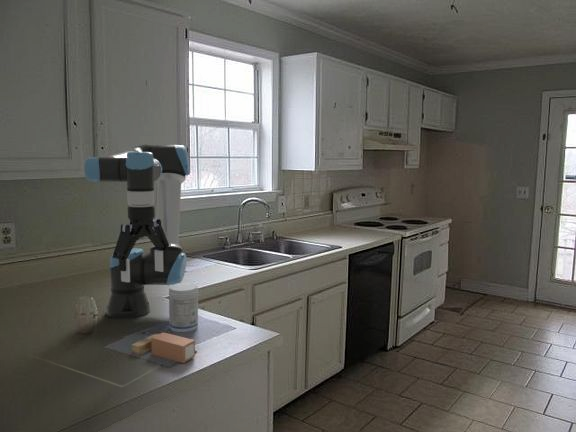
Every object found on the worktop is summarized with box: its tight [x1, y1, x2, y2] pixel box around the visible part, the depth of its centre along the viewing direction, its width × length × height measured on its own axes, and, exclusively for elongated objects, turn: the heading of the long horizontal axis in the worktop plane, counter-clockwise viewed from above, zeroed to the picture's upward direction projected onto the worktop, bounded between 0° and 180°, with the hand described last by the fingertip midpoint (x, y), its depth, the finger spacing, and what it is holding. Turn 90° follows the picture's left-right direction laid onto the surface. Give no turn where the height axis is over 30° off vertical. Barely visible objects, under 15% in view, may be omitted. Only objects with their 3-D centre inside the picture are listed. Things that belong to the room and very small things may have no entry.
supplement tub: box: [168, 282, 199, 333], centre depth 162 cm, size 10×10×15 cm
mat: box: [104, 333, 198, 369], centre depth 145 cm, size 12×26×1 cm, turn 62°
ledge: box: [131, 333, 160, 355], centre depth 145 cm, size 10×3×3 cm, turn 152°
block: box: [151, 332, 196, 364], centre depth 141 cm, size 5×5×12 cm
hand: (143, 276), depth 143 cm, fingers open, 13 cm apart
